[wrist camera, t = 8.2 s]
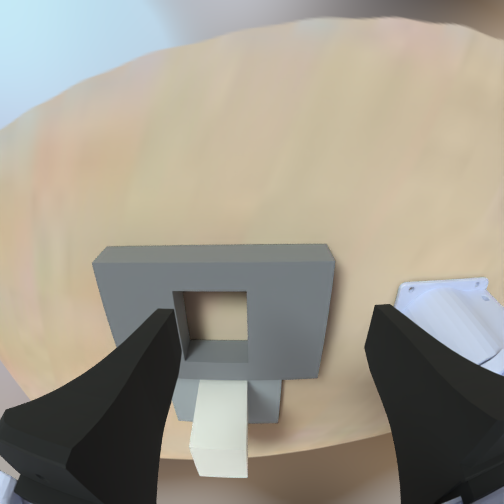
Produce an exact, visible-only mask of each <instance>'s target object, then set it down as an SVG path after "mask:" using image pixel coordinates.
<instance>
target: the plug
mask: <svg viewBox="0 0 504 504" xmlns="http://www.w3.org/2000/svg"><path fill="white" fill-rule="evenodd" d="M189 448H190V451H191V454H192V457H193V459H194V462H195V465H196V468H197V470H198V473H199V475H200V476H210V477H231V478H248V389H247V381H240V380H200V382H199V388H198V394H197V400H196V406H195V412H194V419H193V425H192V432H191V438H190V445H189Z"/></svg>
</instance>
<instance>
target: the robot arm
mask: <svg viewBox="0 0 504 504" xmlns="http://www.w3.org/2000/svg"><path fill="white" fill-rule="evenodd" d="M487 285H488V279H487V278H486V277H479V278H465V279H450V280H434V281H417V282H404V283H402V284H401V285H400V286H399V289H398V293H397V297H396V301H395V305H394V307H393V306H392V305H390V304H384V305H375V307H374V311H373V315H372V319H371V323H370V327H369V331H368V335H367V339H366V343H365V347H364V348H365V352H366V356H367V361H368V365H369V369H370V372H371V374H372V377H373V380H374V382H375V385H376V387H377V390H378V393H379V395H380V398H381V400H382V403H383V406H384V408H385V411H386V414H387V417H388V420H389V423H390V427H391V431H392V436H393V441H394V445H395V451H396V457H397V463H398V471H399V480H400V491H401V492H400V493H401V504H504V307H503V306H502V305H501V304H500V303H499V302H498V301H497V300H496V299H495V298H494V297H493V296H492V295H491V294H490V293H489V292H488V291H487V290H486V288H487ZM411 287H412V289H411V290H409V288H411ZM181 355H182V349H181V344H180V338H179V333H178V328H177V323H176V317H175V311H174V309H162V308H158V309H157V310H156V311H155V312H154V313H152V314H151V315H150V316H149V317H148V318H147V319H146V320H145V321H144V322H143V323H142V324H141V325H140V326H139V327H138V328H137V329H136V330H135V331H134V332H133V333H132V334H131V335H130V336H129V337H128V338H127V339H126V340H125V341H124V342H123V343H122V344H120V345H119V346H118V347H117V348H116V349H115V350H113V351H112V352H111V353H110V354H109V355H108V356H107V357H105V358H104V359H103V360H102V361H100V362H99V363H98V364H96V365H95V366H94V367H92V368H91V369H89V370H88V371H87V372H85V373H84V374H82V375H81V376H79V377H77V378H76V379H74V380H72V381H71V382H69V383H67V384H65V385H64V386H62V387H60V388H58V389H56V390H54V391H52V392H50V393H48V394H46V395H44V396H42V397H40V398H37V399H35V400H32V401H30V402H27V403H24V404H21V405H19V406H16V407H13V408H9V409H6V410H5V412H4V414H3V416H2V418H1V419H0V455H1V456H2V457H3V458H4V459H5V460H6V461H7V462H8V463H9V464H10V465H11V466H12V467H13V468H14V469H15V470H16V471H18V472H19V473H20V474H21V475H20V477H19V479H18V480H16V479H15V478H13V477H12V476H10V475H8V474H6V473H5V472H2V471H1V470H0V504H156V497H157V481H158V469H159V460H160V451H161V444H162V437H163V431H164V427H165V422H166V419H167V415H168V411H169V408H170V404H171V401H172V397H173V394H174V390H175V386H176V383H177V379H178V375H179V369H180V363H181Z"/></svg>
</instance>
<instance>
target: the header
mask: <svg viewBox="0 0 504 504" xmlns="http://www.w3.org/2000/svg"><path fill="white" fill-rule="evenodd" d="M92 265H93V269H94V273H95V277H96V281H97V285H98V288H99V292H100V295H101V299H102V302H103V306H104V309H105V313H106V316H107V319H108V322H109V325H110V329H111V332H112V335H113V338H114V341H115V343H116V346H117V347H118V346H119V345H120V344H122V343H123V342H124V341H125V340H126V339H127V338H128V337H129V336H130V335H131V334H132V333H133V332H134V331H135V330H136V329H137V328H138V327H139V326H140V325H141V324H142V323H143V322H144V321H145V320H146V319H147V318H148V317H149V316H150V315H151V314H152V313H154V312H155V311H156V310H157V309H158V308H162V309H174V311H175V317H176V323H177V328H178V333H179V338H180V344H181V349H182V355H181V363H180V369H179V375H178V378H180V379H199V380H240V381H250V380H291V379H310V378H318V372H319V367H320V361H321V356H322V350H323V344H324V338H325V332H326V326H327V320H328V313H329V306H330V299H331V292H332V284H333V276H334V268H335V259H334V257H333V256H332V254H331V252H330V250H329V248H328V246H327V244H253V245H172V246H111V247H106V248H105V249H104V250H103V251H102V252H101V253H100V255H99V256H98V257H97V258H96V259H95V260H94V261H93V262H92ZM183 291H247V323H248V340H190V336H189V330H188V324H187V317H186V311H185V304H184V297H183Z"/></svg>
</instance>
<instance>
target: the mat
mask: <svg viewBox="0 0 504 504" xmlns="http://www.w3.org/2000/svg"><path fill="white" fill-rule="evenodd" d="M199 382H200V380H199V379H180V378H178V379H177V383H176V386H175V390H174V394H173V397H172V401H173V405H174V408H175V411H176V414H177V417H178V420H179V421H191V422H193V419H194V412H195V406H196V400H197V394H198V388H199ZM281 383H282V380H250V381H247V389H248V423H278V417H279V406H280V395H281Z"/></svg>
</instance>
